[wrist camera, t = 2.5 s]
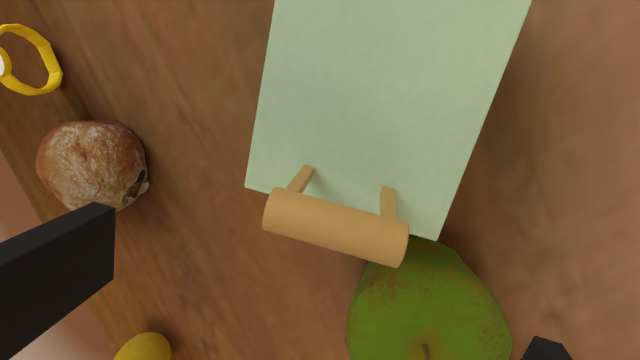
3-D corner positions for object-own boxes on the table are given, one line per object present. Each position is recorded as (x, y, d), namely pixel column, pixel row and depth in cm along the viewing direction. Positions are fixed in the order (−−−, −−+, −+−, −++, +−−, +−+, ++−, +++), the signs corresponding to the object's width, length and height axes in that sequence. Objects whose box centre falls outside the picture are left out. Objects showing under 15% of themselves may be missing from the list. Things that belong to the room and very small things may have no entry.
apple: (489, 317, 34) (541, 428, 23) (372, 337, 37) (371, 443, 26) (460, 206, 31) (505, 276, 20) (336, 237, 34) (318, 312, 23)
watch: (29, 32, 33) (-43, 23, 27) (52, 25, 32) (-17, 15, 26) (53, 94, 34) (-10, 99, 29) (76, 89, 34) (16, 93, 28)
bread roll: (153, 200, 40) (139, 236, 33) (50, 191, 37) (10, 229, 30) (159, 120, 37) (145, 141, 30) (47, 102, 34) (2, 121, 27)
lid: (434, 236, 22) (467, 327, 14) (248, 183, 23) (181, 241, 15) (550, -59, 16) (710, -181, 8) (298, -111, 17) (233, -262, 9)
